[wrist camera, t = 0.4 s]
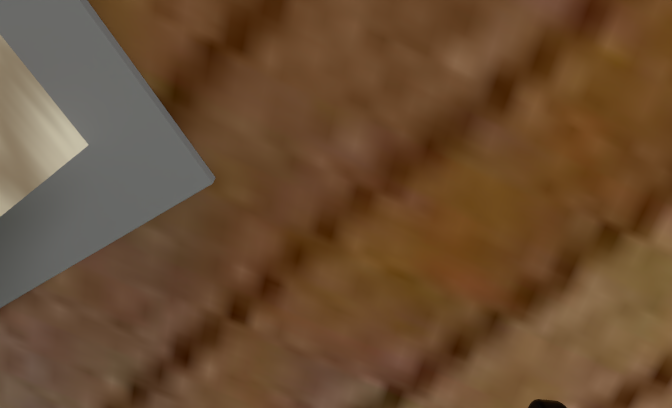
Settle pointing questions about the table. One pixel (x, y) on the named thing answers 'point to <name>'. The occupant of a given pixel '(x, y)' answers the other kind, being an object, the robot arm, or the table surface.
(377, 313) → the table surface
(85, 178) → the rubber mat
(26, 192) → the birch block
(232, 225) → the table surface
